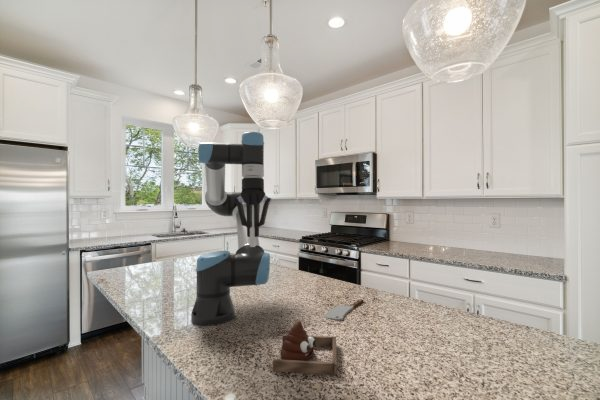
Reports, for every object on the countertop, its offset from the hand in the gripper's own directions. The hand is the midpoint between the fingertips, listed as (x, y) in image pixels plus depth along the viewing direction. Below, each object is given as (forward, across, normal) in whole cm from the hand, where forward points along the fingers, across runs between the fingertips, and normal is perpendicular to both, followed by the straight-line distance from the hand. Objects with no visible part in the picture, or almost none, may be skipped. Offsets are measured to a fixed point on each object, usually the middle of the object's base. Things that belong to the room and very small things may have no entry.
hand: (253, 246), depth 100 cm
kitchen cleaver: (+27, +31, +17) cm, 45 cm away
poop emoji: (+27, +18, -20) cm, 38 cm away
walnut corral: (+26, +20, -20) cm, 39 cm away
